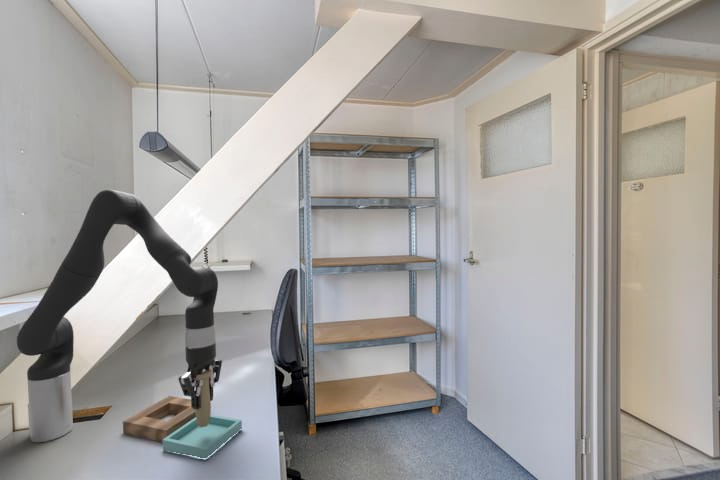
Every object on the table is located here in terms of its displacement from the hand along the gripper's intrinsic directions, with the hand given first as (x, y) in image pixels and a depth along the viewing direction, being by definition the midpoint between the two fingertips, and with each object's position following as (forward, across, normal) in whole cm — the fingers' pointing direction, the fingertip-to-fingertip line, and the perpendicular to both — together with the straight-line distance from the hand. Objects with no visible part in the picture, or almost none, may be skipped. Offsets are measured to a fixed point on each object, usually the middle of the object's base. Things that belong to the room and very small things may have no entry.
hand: (202, 404), depth 96 cm
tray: (+10, 0, 0) cm, 10 cm away
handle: (+6, 0, 0) cm, 6 cm away
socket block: (+10, -4, -17) cm, 20 cm away
